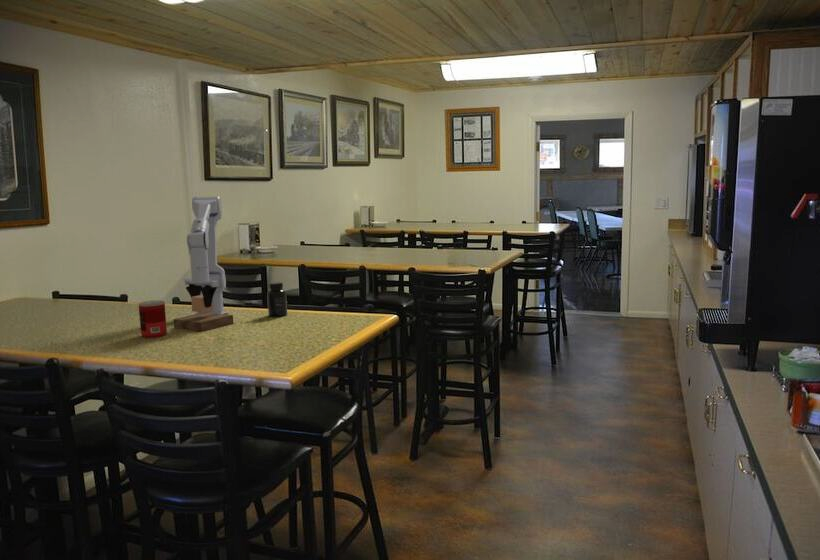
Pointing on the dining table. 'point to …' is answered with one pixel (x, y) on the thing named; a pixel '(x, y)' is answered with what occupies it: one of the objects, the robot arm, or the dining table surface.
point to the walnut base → (203, 321)
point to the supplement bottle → (276, 300)
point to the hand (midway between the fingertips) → (202, 306)
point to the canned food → (152, 319)
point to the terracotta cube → (200, 304)
